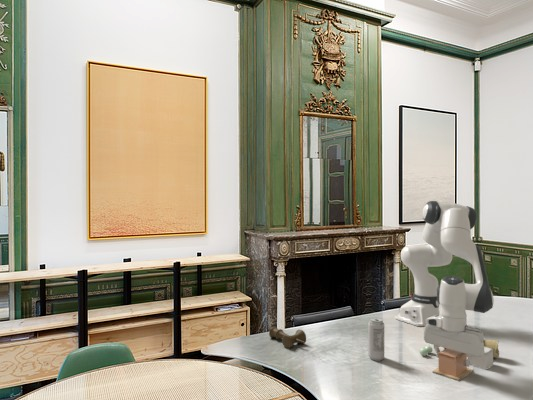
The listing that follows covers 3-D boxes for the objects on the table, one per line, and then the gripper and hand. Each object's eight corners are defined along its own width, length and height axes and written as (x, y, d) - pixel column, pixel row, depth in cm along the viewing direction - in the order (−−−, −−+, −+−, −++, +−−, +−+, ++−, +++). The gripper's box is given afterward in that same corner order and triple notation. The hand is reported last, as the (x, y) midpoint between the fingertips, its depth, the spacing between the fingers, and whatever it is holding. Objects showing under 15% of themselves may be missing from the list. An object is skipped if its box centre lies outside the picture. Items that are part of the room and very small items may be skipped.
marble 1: (418, 355, 155) (418, 348, 155) (422, 353, 157) (421, 346, 157) (425, 357, 153) (425, 350, 153) (429, 355, 155) (429, 348, 155)
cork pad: (432, 372, 140) (432, 371, 140) (447, 363, 148) (447, 361, 148) (458, 381, 133) (458, 379, 133) (473, 371, 141) (473, 369, 141)
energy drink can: (380, 354, 156) (379, 316, 156) (387, 360, 150) (387, 321, 150) (365, 355, 155) (365, 317, 155) (372, 361, 149) (372, 322, 149)
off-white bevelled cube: (467, 364, 147) (467, 348, 147) (474, 359, 151) (474, 343, 151) (486, 369, 142) (486, 353, 142) (493, 364, 147) (493, 348, 147)
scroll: (500, 351, 156) (446, 340, 168) (499, 336, 153) (444, 326, 166) (498, 365, 150) (442, 353, 163) (496, 350, 148) (440, 338, 160)
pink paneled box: (438, 371, 140) (438, 352, 140) (449, 364, 146) (449, 346, 146) (455, 376, 135) (455, 357, 136) (466, 369, 141) (466, 351, 141)
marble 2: (423, 353, 158) (422, 345, 158) (426, 351, 160) (426, 343, 160) (430, 355, 156) (430, 347, 156) (433, 353, 158) (433, 345, 158)
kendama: (280, 336, 180) (313, 346, 165) (264, 341, 174) (297, 353, 159) (280, 322, 180) (312, 332, 165) (264, 327, 174) (296, 338, 159)
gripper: (487, 328, 135) (487, 368, 135) (429, 315, 150) (429, 351, 150) (480, 332, 131) (480, 373, 131) (421, 318, 146) (421, 355, 146)
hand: (452, 361), depth 141 cm, fingers open, 8 cm apart
